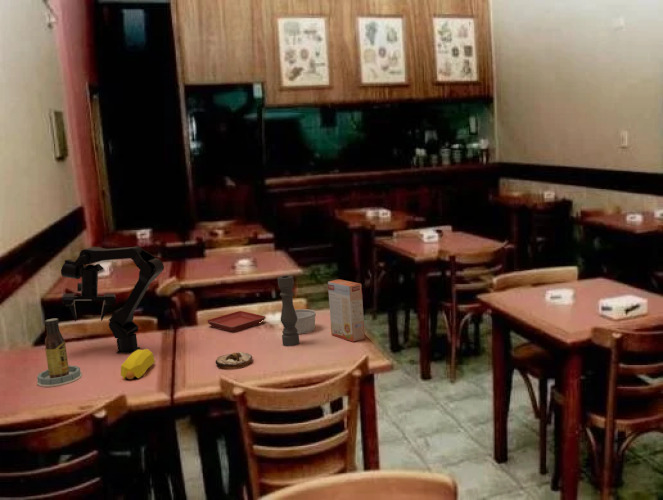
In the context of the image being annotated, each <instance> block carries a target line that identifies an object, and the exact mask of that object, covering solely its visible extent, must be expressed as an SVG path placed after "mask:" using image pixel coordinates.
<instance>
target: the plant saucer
mask: <svg viewBox="0 0 663 500" xmlns="http://www.w3.org/2000/svg"><path fill="white" fill-rule="evenodd" d="M266 318H267V316H265V315H261V314H258V313H252V312H247V311H243V310H237V311H234V312H231V313H227V314H224V315H220V316H217V317H213V318H210V319H207V320H206V322H207V323H208V324H209V325H210V326H211V327H213V328H216V329H220V330H224V331H227V332H232V333H235V332H238V331H240V330H241V331H242V330H244V329H248V328H251V327H255V326H257V325H260V324H259V322H261V321H262V320H263V321H264V320H265V319H266Z"/></svg>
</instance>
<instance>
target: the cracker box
mask: <svg viewBox="0 0 663 500" xmlns="http://www.w3.org/2000/svg"><path fill="white" fill-rule="evenodd" d="M327 287H328V288H327V289H328V290H327V291H328V303H329V316H330V317H329V319H330V331H331V333H330V334H331V336H334V337H337V338H340V339H343V340H345V341H350V342H352V343H354V342H357V341H362V340H365V337H366V335H365V320H364V318H365V317H364V307H363V306H364V305H363V288H362V287H363V286H362V283H360V282H354V281H349V280H344V279H334V280H329V281H327Z"/></svg>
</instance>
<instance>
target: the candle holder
mask: <svg viewBox="0 0 663 500" xmlns="http://www.w3.org/2000/svg"><path fill="white" fill-rule="evenodd" d="M294 285H295V282H294V275H291V274H290V275H281V276H278V277H277V286H278V289H279V290H280V293H279V297H281V303H282V306H281V314H280V322H281V324H282V326H283V330H282V332H281V333H282V334H281V340H282V341H281V343H282V346H284V347H295V346H298V345H299V344H300V334H298V333H297V332H298V330H297V329H296V327H295V326H296V325H295V324H296V322H297V315H296V312H295V310H296V309H295V307H294V301H293V296H294V295H295V292H294V291H293V289H294Z"/></svg>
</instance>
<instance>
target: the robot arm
mask: <svg viewBox="0 0 663 500" xmlns="http://www.w3.org/2000/svg"><path fill="white" fill-rule="evenodd" d="M122 259H131V260H132V262H133V263H134V264H135V266H136V267H137V268H138V269H139V272H138V280H137V282H136V283H135V284H134V287H133V289H132V290H131V292H130V293H129V295H128V297H127V299H126V301H125V302H124V304H123V306H122V307H120V308H118V309H116V310H114V311H113V313H112V315H111V317H110V318H109V319H108V321H109V322H108V327H109V330H110V331H111V332H112V335H113V337H114V338H115V339H116V345H117V350H116V354H132V353H133V352H135V351H136V350H140V349H141V346H138V339H137V332H138V331H139V326H138V324H136V323H135V322H134V321H133V320H134V318H135V317H134V315H135V314H134V313H135V311H136V310H137V308H138V305H140V302H141V301H142V299H143V297H144V296H145V293H146V292H147V290H148V289H149V287H150V285H151V283H153V282H154V281H155V280H156V279H157V278H158V276H160V275H161V273H162V272H163V271H164V268H165V266H164V263H163V261H162V260H161V259H160V258H157V257H156V256H154V254H151V253H150V252H148V251H146V250H144V249H143V248H142V247H141V246H139V245H137V246H136V245H135V246H133V247H131V246H130V247H117V248H103V247H99V246H92V247H88V248H84V249H82V250H80V252H79V256H78V257H77V259H75V260H73V259H69V258H68V259H65V260H64V263H63V265H62V267H61V269H60V273H61V277H63V278H66V279H67V278H69V279H74V280H75V279H76V280H79V279H81V282H77V293H78V292H80V295H78V296H77V295H76V296H75V293H74V292H73V293H63V295H62V296H61V304H62V305H65V307H67V308H69V310H70V312H71V314H72V317H73V320H74V321H75V322H77V312H76V304H75V303H76V302H103V303H102V308H101V315H100V321H101V322H103V320H104V318H105V315H106V313H107V311H108V309H109V308H110V307H112V306H113V305H115V304H116V303H117V302H116V300H117V298H116V294H115V293H109V292H107V293H104V295H98V293H99V292H98V287H99V285H98V282H99V281H98V280H99V272H100V271H103V270H104V269H105V268H104V267H103V266H102V265H101V264H100V262H102V261H107V260H108V261H109V260H122Z"/></svg>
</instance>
